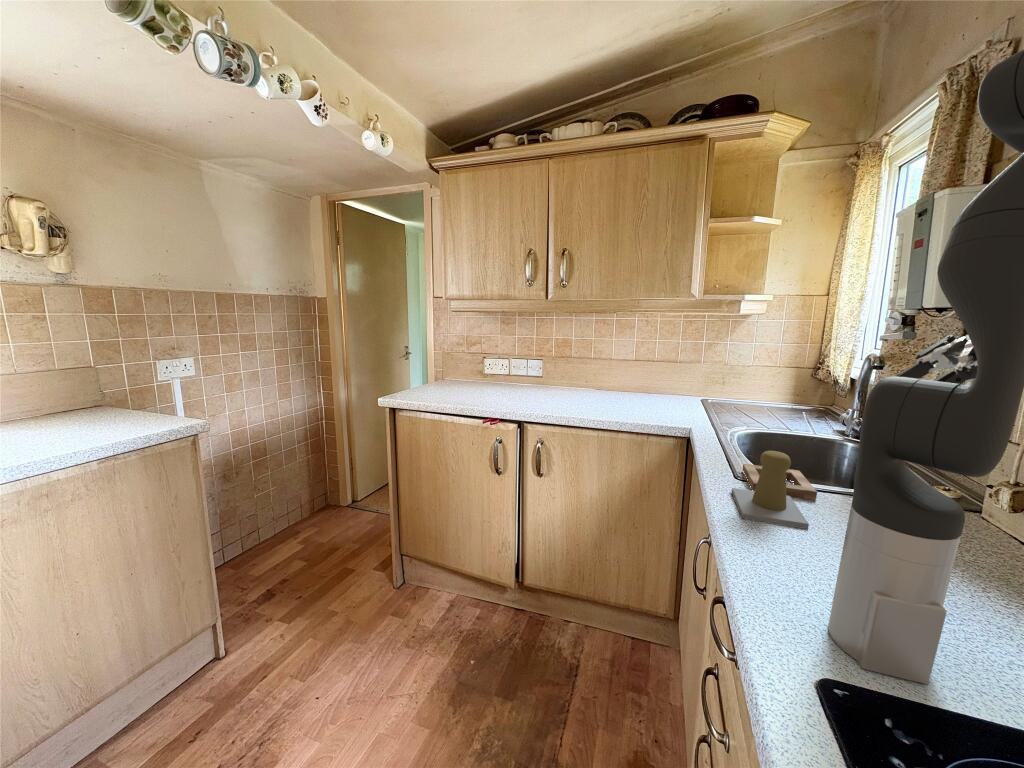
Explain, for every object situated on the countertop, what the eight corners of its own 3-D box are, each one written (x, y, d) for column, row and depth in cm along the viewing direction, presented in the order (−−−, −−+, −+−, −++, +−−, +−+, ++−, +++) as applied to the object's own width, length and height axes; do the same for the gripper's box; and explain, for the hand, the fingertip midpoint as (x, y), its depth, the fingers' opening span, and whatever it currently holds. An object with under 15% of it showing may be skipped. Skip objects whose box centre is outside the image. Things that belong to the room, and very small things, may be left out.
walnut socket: (815, 500, 88) (817, 491, 88) (752, 491, 92) (753, 483, 92) (797, 478, 100) (799, 470, 99) (742, 471, 103) (743, 463, 103)
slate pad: (808, 528, 77) (808, 523, 77) (742, 518, 81) (742, 513, 80) (788, 500, 88) (789, 495, 88) (731, 492, 92) (732, 487, 92)
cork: (755, 494, 89) (761, 445, 87) (788, 502, 85) (796, 452, 83) (749, 504, 84) (756, 453, 82) (784, 514, 80) (792, 460, 78)
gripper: (974, 299, 68) (876, 363, 74) (1051, 297, 55) (925, 375, 61) (1008, 332, 68) (907, 394, 74) (1094, 339, 55) (963, 414, 60)
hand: (915, 385), depth 67 cm, fingers open, 8 cm apart
